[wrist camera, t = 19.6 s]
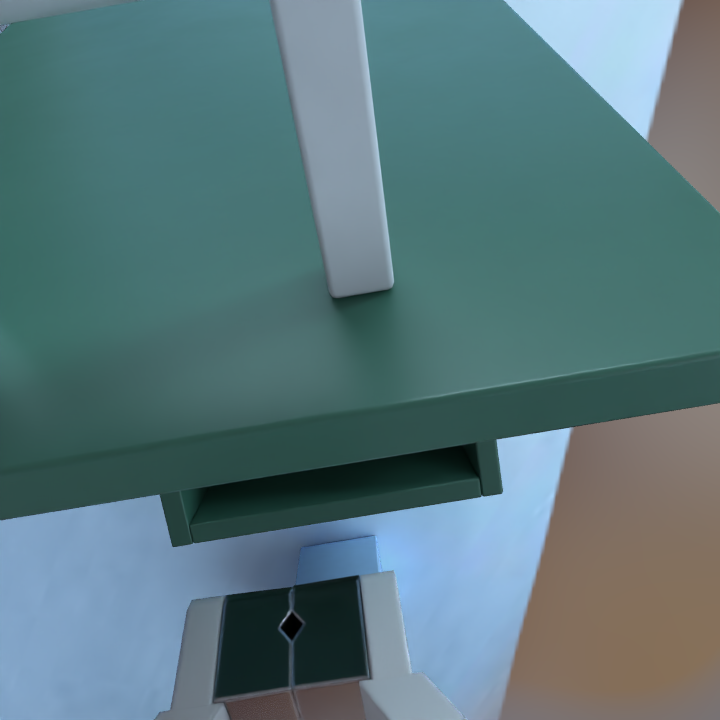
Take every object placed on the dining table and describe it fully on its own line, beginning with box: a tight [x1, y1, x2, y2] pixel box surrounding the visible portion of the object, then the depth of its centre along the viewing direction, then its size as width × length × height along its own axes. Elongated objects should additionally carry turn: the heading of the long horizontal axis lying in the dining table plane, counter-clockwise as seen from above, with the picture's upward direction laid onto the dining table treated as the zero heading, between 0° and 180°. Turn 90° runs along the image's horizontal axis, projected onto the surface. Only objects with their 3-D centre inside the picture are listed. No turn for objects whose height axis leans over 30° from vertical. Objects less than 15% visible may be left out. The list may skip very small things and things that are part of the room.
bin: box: [160, 440, 503, 547], centre depth 27 cm, size 19×13×9 cm
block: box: [295, 536, 382, 585], centre depth 32 cm, size 4×4×5 cm
